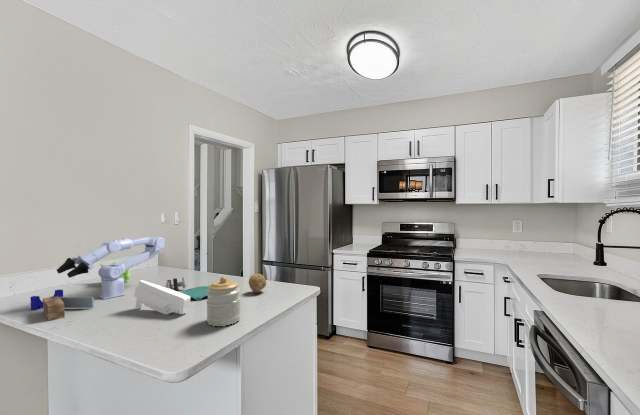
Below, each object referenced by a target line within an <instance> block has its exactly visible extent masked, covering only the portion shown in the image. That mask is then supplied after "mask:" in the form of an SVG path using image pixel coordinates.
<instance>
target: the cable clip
mask: <svg viewBox="0 0 640 415" xmlns="http://www.w3.org/2000/svg"><path fill="white" fill-rule="evenodd" d="M55 296H58V297H64V289H55V290H54V293H53V295H52V296H51V297H55ZM40 309H43V300H41V297H40V295H32V296H30V310H31V311H37V310H40Z"/></svg>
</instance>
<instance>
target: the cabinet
mask: <svg viewBox="0 0 640 415" xmlns="http://www.w3.org/2000/svg"><path fill="white" fill-rule="evenodd" d="M42 302H43V308H42V310H43V314H44V316H45V317H46V319H47V321H48V322H51V321H55V320H59V319H63V318H65V315H66V314H65V308H64V302H63V301H62V300H61V299H60V298H59V297H58V296H55V297H52V296H49V297H46V298H45V297H44V298H42Z"/></svg>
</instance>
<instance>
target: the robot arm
mask: <svg viewBox="0 0 640 415" xmlns="http://www.w3.org/2000/svg"><path fill="white" fill-rule="evenodd" d="M140 245H145V246H144V248H145V249H144V251H143V252H141V253H138V254H135V255H133V256H131V257H129V258H127V259H124V260H122V261H120V262H115V263H116V264H113V263H111V264H108V265H105V264H104V265H105V266H102V267H100V268H99V269H98V272H97V273H98V276H99V277H100V281H101V294H100V295H99V298H101V299H102V300H106V299H112V298H116V297H121V296H125V295H126V293H125V283H124V279H123V278H122V277H121V278H119V276H120V275H121V274H123V273H124V272H125V270H127V269H129V270H130V269H131V268H133V267H136V266H138V265H140V264H143V263H144V262H147V261H148V260H152V258H153V259H154V258H155V256H157V254H158V253H159V252H160V251H161V250H162V249H163V250H164V249H165V248H164V247H165V245H166V240H165V238H164V237H161V236H160V237H157V236H145V237H141V238H135V239H130V238H128V237H123V238H122V239H114V240H113V241H109V240H108V241H103V243H102V244H101V245H100V246H99V247H96V248H95V249H93V250H90V251H88V252H87V253H84V255H80V254H78V255H77V256H76V257H75V256H73V257H68V258H66V259H65V261H64V262H63V263H62V265H60V266H59V267H57V268H56V273H57V274H62V273H65V272H66V271H68V272H67V274H66V275H67V277H68V278H73V277H76V276H79V275H83V274H88V273H89V272H90V271H91V270H93V269H94V268H95V265H94V264H95V263H98V261H101V260H103V258H105V257H107V256H109V255H111V254H116V253H118V252H120V251H126V250H130V249H131V248H133V247H134V246H140ZM69 270H70V271H69Z"/></svg>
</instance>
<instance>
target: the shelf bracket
mask: <svg viewBox="0 0 640 415" xmlns="http://www.w3.org/2000/svg"><path fill="white" fill-rule="evenodd" d="M162 286H163V285H159V284H156V283H153V282H149V281H146V280H143V279H142V280H138V286H136V287H135V291H134V297H136V300H135V308H134V310H138V309H141V308H142V307H147V308H150V309H152V310H154V311H156V312H158V313H160V314H162V315H169V314H172V313H178V314H179V315H183V314H185V313H187V312H189V311H190V306H191V305H190V304H191V300H192V299H191V297H190V296H188V295H186V294H183V293H180V292H181V291H175V290H174V289H173V288H172V289H169V288H166V287H162Z"/></svg>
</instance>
